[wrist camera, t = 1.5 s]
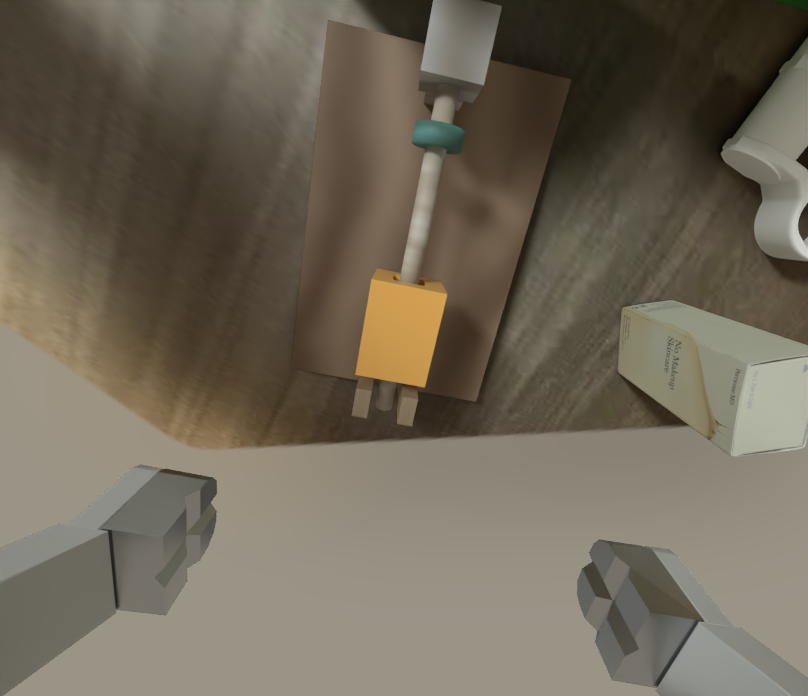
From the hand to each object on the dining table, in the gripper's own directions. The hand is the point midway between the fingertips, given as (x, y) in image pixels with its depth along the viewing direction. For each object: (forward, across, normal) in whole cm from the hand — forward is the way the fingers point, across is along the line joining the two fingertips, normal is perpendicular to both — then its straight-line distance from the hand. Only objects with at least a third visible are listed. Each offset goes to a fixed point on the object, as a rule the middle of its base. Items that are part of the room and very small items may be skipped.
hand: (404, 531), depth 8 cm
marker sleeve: (+19, +1, 0) cm, 19 cm away
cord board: (+24, +1, -5) cm, 25 cm away
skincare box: (+25, -20, 0) cm, 32 cm away
